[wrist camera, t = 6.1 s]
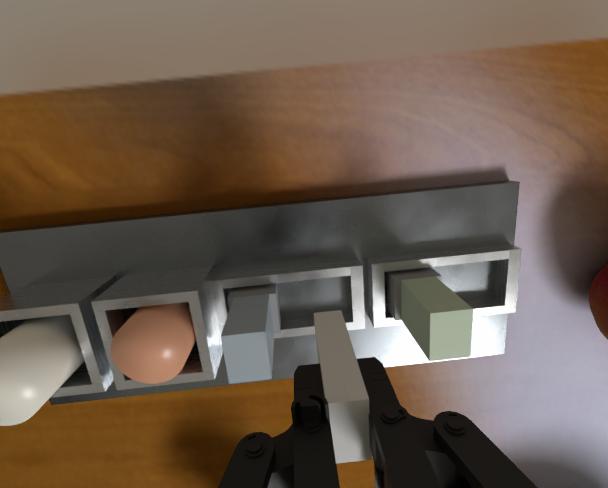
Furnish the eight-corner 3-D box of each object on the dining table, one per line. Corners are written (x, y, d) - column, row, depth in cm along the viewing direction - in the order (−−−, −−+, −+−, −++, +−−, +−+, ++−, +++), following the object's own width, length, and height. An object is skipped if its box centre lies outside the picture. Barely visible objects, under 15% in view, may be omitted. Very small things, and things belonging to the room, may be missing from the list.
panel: (59, 395, 25) (7, 452, 21) (1, 230, 22) (-79, 253, 17) (496, 346, 26) (543, 390, 22) (509, 180, 23) (569, 189, 18)
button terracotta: (151, 342, 23) (120, 387, 19) (138, 289, 22) (102, 324, 18) (209, 336, 23) (192, 379, 19) (199, 282, 22) (178, 315, 18)
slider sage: (387, 307, 23) (421, 362, 17) (386, 270, 23) (422, 314, 17) (429, 303, 23) (478, 355, 18) (429, 266, 23) (481, 307, 17)
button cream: (34, 371, 21) (-31, 430, 17) (13, 314, 20) (-63, 361, 15) (99, 364, 21) (51, 420, 17) (81, 307, 20) (25, 351, 16)
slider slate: (237, 323, 23) (221, 384, 17) (231, 286, 22) (212, 337, 16) (280, 319, 23) (279, 378, 17) (276, 282, 22) (273, 330, 16)
